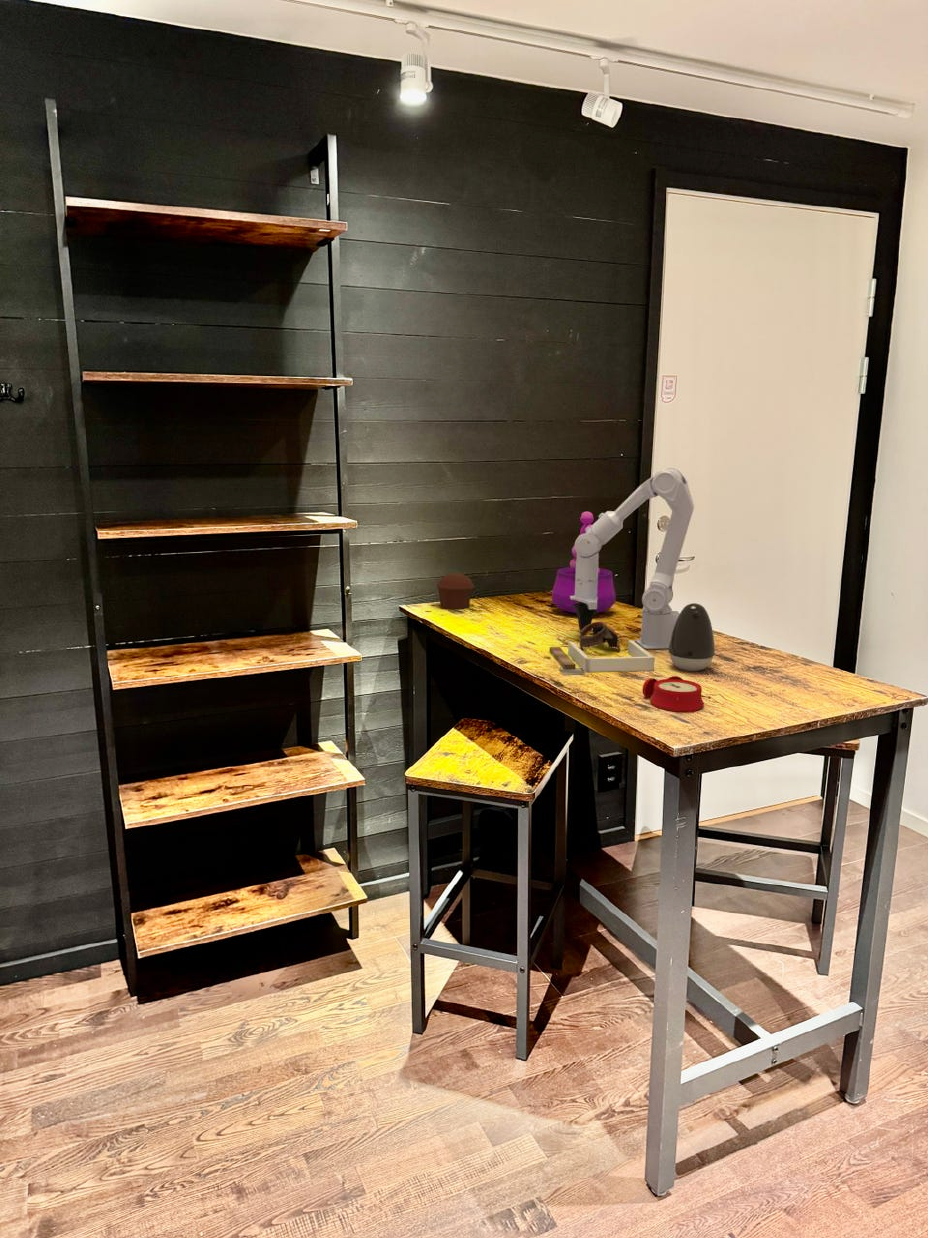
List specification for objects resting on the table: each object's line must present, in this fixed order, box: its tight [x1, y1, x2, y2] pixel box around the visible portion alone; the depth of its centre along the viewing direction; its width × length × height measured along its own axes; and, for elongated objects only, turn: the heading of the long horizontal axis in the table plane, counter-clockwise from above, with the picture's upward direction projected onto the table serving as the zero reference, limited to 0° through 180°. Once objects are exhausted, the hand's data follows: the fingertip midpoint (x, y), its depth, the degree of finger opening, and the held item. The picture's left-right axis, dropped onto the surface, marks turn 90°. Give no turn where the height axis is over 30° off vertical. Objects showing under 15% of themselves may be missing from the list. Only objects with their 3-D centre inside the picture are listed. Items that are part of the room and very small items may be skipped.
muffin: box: [436, 572, 475, 611], centre depth 258 cm, size 12×11×10 cm
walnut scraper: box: [549, 646, 586, 676], centre depth 199 cm, size 20×5×2 cm, turn 7°
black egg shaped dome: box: [668, 602, 716, 672], centre depth 194 cm, size 10×10×15 cm
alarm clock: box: [641, 675, 711, 714], centre depth 171 cm, size 10×6×15 cm
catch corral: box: [567, 639, 656, 673], centre depth 200 cm, size 16×16×3 cm
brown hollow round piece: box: [579, 620, 621, 653], centre depth 211 cm, size 12×10×8 cm
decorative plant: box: [551, 511, 616, 615], centre depth 250 cm, size 19×18×30 cm
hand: (584, 631), depth 222 cm, fingers closed
